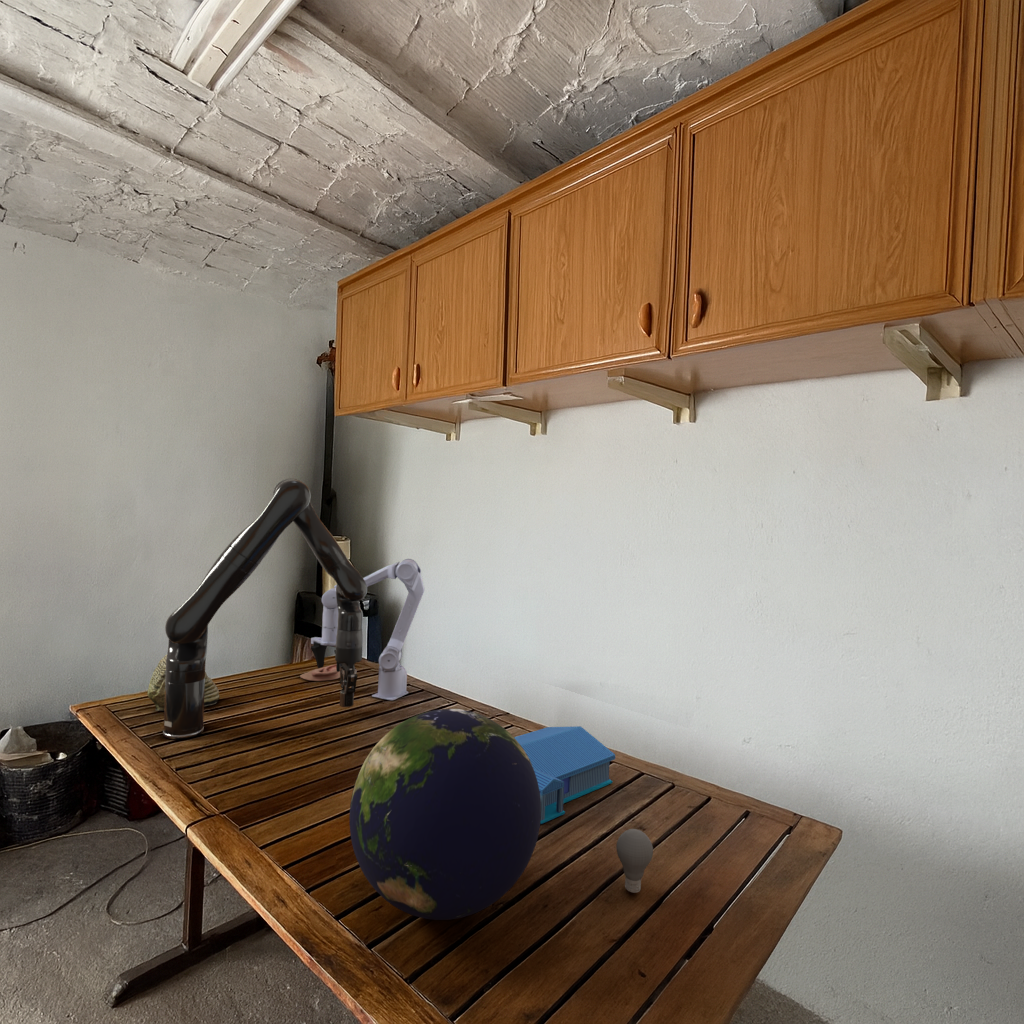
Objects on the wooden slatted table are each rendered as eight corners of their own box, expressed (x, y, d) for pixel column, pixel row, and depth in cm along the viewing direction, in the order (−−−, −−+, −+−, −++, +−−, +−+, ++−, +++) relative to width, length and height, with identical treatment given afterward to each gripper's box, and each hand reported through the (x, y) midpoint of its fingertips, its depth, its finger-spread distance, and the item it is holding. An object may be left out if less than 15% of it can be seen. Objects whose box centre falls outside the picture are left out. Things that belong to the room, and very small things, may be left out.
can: (336, 705, 182) (337, 691, 182) (347, 702, 186) (347, 688, 186) (346, 708, 180) (346, 694, 180) (356, 705, 183) (356, 691, 183)
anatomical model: (295, 667, 216) (312, 659, 227) (295, 679, 216) (312, 670, 227) (331, 671, 213) (346, 663, 224) (330, 683, 213) (346, 674, 224)
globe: (303, 931, 92) (311, 727, 92) (410, 834, 120) (417, 677, 120) (490, 1000, 81) (500, 768, 81) (561, 876, 109) (569, 702, 108)
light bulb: (610, 879, 108) (613, 822, 108) (644, 879, 109) (647, 822, 109) (619, 902, 102) (622, 840, 102) (655, 901, 103) (658, 840, 103)
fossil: (144, 707, 182) (145, 655, 182) (212, 696, 194) (213, 647, 194) (151, 716, 175) (153, 662, 175) (221, 703, 188) (223, 653, 188)
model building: (493, 845, 118) (495, 791, 117) (419, 795, 136) (421, 749, 136) (624, 787, 144) (626, 744, 144) (547, 752, 162) (548, 713, 162)
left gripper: (367, 649, 178) (365, 710, 178) (357, 638, 191) (354, 695, 191) (340, 651, 175) (337, 712, 175) (331, 639, 187) (329, 697, 188)
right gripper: (304, 625, 201) (303, 668, 201) (342, 631, 195) (340, 675, 195) (320, 622, 207) (318, 663, 207) (356, 627, 201) (354, 670, 202)
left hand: (346, 703), depth 183 cm, fingers closed on can, 4 cm apart
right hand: (330, 669), depth 202 cm, fingers open, 7 cm apart
